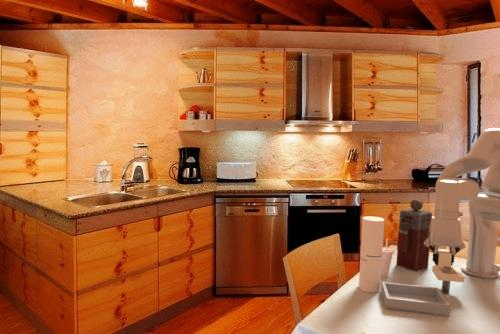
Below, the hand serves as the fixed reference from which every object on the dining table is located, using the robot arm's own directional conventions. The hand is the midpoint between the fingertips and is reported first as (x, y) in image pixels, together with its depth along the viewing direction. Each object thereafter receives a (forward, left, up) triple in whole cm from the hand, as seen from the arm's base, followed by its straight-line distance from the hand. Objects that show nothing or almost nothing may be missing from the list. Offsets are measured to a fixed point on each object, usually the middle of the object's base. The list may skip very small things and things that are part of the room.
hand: (442, 263), depth 134 cm
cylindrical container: (+26, +10, -8) cm, 29 cm away
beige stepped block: (0, +4, -2) cm, 5 cm away
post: (0, +7, -8) cm, 10 cm away
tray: (+13, +19, -8) cm, 24 cm away
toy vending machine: (+7, -16, -8) cm, 20 cm away
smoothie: (+19, -5, -8) cm, 22 cm away
